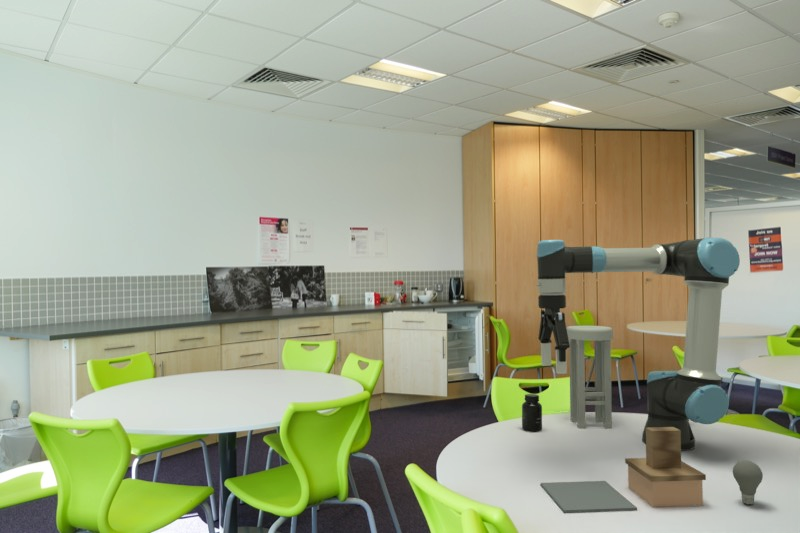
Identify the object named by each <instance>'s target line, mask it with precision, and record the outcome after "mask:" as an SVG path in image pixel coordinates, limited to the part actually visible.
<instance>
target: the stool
mask: <svg viewBox="0 0 800 533" xmlns="http://www.w3.org/2000/svg"><path fill="white" fill-rule="evenodd" d="M566 329H567V334H568V340H569V345H570V347H569V404H570V405H569V407H570V408H569V410H570V411H569V412H570V417H569V418H570V422H572V423H577V424H576V425H577V428H578V429H581V430H582V429H586V405H587V406H588V405H589V406H594V408H595V409H594V416H595V419H594V420H595V422H597V423H603V424H602V426H603V428H604V429H607V430H608V429H609V430H610V429H611V430H612V429H613V421H612V419H613V417H612V416H613V411H612V355H611V354H612V353H611V351H612V349H611V347H612V345H611V343H612V342H611V341H612V340H613V339H614V329H613V328H612V327H610V326H605V325H569V326H566ZM585 341H590V342H591V341H594V342H593V343H594V344H593V345H594V346H593V349H594V354H593V355H594V387H593V386H586V379H585V378H586V371H585V370H586V367H585V366H586V364H585V359H586V358H585V355H586V354H585Z"/></svg>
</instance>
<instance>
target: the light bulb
mask: <svg viewBox="0 0 800 533" xmlns="http://www.w3.org/2000/svg"><path fill="white" fill-rule="evenodd" d="M732 475H733V478H734V479H735V482H736V483H737V484H738V488H739V491H740V492H741V502H742V503H744V504H745V503H746V505H749V504H751V505H754V504H755V495H756V493H757V489H758V487H759V486H760V484H761V483H762V482H763V478H764V476H763V475H764V474H763V471H762V469H761V467H760V466H759V465H758V464H757V463H755V462H754V461H751V460H747V459H742V460H739V461H737V462H735V464H734V466H733V467H732Z"/></svg>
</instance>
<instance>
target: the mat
mask: <svg viewBox="0 0 800 533" xmlns="http://www.w3.org/2000/svg"><path fill="white" fill-rule="evenodd" d="M540 486H541V488H542V489H543V490H544V491H545V493H546V494H547V495H548V496H549V497H550V498H551V499H552V500H553V502H554V503H555V504H556V505H557V506H558V507H559V509H560V510H561V511H562V512H563V513H564V514H569V513H572V514H575V513H598V512H600V513H601V512H605V513H606V512H624V511H625V512H627V511H628V512H629V511H631V512H633V511H638V507H637V506H636V505H634V503H633V502H631V501H630V500H628V499H627V498H626V497H625V496H624V495H623V494H622V493H620V492H619V491H618V490H616V489H615V488H614V487H613V486H612V485H611V484H609V483H608V482H607V481H606V480H591V481H589V480H588V481H560V482H554V481H552V482H540Z"/></svg>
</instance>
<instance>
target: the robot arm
mask: <svg viewBox="0 0 800 533" xmlns="http://www.w3.org/2000/svg"><path fill="white" fill-rule="evenodd" d="M536 248H537V249H536V253H537V254H536V258H537V259H536V260H537V282H536V283H535V284H536V286H537V289H538V290H537V291H538V294H540V295H539V296H538V297H537V299H538V308H540V309H541V310H540V323H539V330H538V337H537V338H538V340H539V342H540V354H541V356H540V357H541V360H540V361H541V362H540V363H541V366H542V367H543V366H545V367H546V366H548V367H549V366H552V343H553V342H552V338H551V337H552V335H553V339H554V342H555V346H554V351H555V373H556V374H558V375H560V374H561V375H562V374H563V375H565V374H568V360H567V359H568V358H567V350H568V349H570V345H569V338H568V334H567V329H566V328H567V324H566V317H565V315H566V314H565V312H561V311H560V309H565V308H567V299H566V298H567V297H566V295H565V293H566V292H567V287H566V286H567V285H566V280H567V279H566V274H581V273H582V274H583V273H584V274H585V273H587V274H588V273H591V274H593V273H620V272H621V273H629V272H630V273H635V272H636V273H639V272H642V273H643V272H651V273H653V275H666V276H676V277H684V280H683V282H684V283H685V284H686V285H687V287H688V289H689V292H688V300H687V301H688V302H687V315H686V326H685V338H684V339H685V340H684V353H683V362H682V368H681V369H679V370H653V371H650V372H649V373H648V374H647V379H646V385H647V391H646V392H647V419H646V422H645V425H644V428H643V430H642V433H641V434H642V439H641V440H642V442H643V444H645V445H646V428H649V427H675V428H677V429H679V430H681V451H689V450H692V449H694V448H695V447H696V440H695V439H696V438H695V436H694V433H693V430H692V428H691V424H690V421H691V422H693V423H697V424H702V425H712V424H715V423H716V424H717V423H718V422H719V421H720V420H721V419H723V418H724V417H725V415H726V413H727V412H728V409H729V405H730V399H729V395H728V394H727V393H726V390H724V389H723V387H722V386H721V385H722V378H721V376H720V375H719V374H718V373H717V361H718V360H717V358H718V348H719V347H718V346H719V335H720V334H719V333H720V324H721V323H720V320H721V309H722V307H721V306H722V298H723V296H722V295H723V291H724V290H725V289H726V288H727V287H728V286H729V285H730V284H729V283H730V281H729V280H730V277H731V276H733V275H734V274H735V273H736V272H737V271H738V270H739V267H740V260H741V259H740V255H739V251H738V249H737V248H736V247H735V245H734V244H733V243H732V242H731V241H730V240H728V239H725V238H722V237H706V238H697V239H686V240H681V241H675V242H669V243H664V244H663V243H662V244H661V243H659V244H653V245H652V246H651V247H612V248H611V247H606V248H604V247H603V248H602V247H601V246H594V245H590V246H566V244H565V241H564V240H563V239H542V240H540V241H538V243H537V247H536ZM688 419H689V421H688Z"/></svg>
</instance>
